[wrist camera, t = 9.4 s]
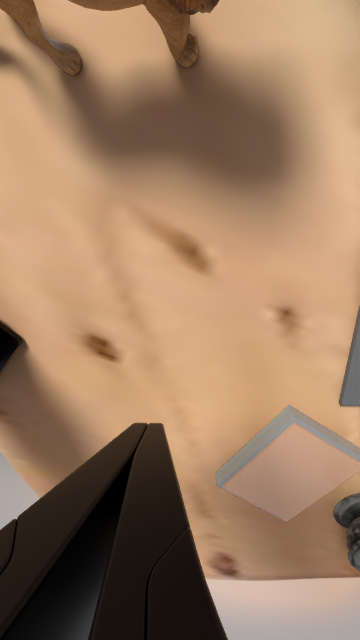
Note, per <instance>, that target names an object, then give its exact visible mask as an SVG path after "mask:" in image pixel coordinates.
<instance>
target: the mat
mask: <svg viewBox="0 0 360 640" xmlns="http://www.w3.org/2000/svg"><path fill="white" fill-rule="evenodd" d="M339 403H340V404H341V406H360V307H359V312H358V316H357V321H356V326H355V330H354V335H353V340H352V344H351V349H350V353H349V358H348V363H347V367H346V372H345V377H344V381H343V386H342V391H341V395H340V400H339Z"/></svg>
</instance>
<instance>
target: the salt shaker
mask: <svg viewBox="0 0 360 640" xmlns="http://www.w3.org/2000/svg"><path fill="white" fill-rule="evenodd" d="M334 517H335V519H336V521H337V522H338V523H339V524H340V525H342V526H344V527H346V528H348V531H347V547H348V549H349V552H348V559H349V561H350V563H351V565H352V566H354V567H355V568H356V569H357V570H359V571H360V493H359V494H355V495H351V496H349V497H346V498H344V499H343V500H341V501H340V502H339V503H338V504H337V505H336V506H335V509H334Z"/></svg>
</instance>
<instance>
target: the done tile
mask: <svg viewBox="0 0 360 640" xmlns="http://www.w3.org/2000/svg"><path fill="white" fill-rule="evenodd" d="M359 471H360V448H359V447H358V446H356V445H354V444H353V443H351V442H349V441H348V440H346V439H345V438H343V437H341V436H340V435H338V434H336V433H335V432H333V431H331V430H330V429H328V428H327V427H325V426H323V425H322V424H320V423H318V422H317V421H315V420H313V419H312V418H310V417H309V416H307V415H305V414H304V413H302V412H300V411H299V410H297V409H295V408H294V407H292V406H291V405H288V406H287V407H286V408H285V409H284V410H283V411H282V412H281V413H280V414H278V415H277V416H276V417H275V418H274V419H273V420H272V421H271V422H270V423H269V424H268V425H267V426H266V427H264V428H263V429H262V430H261V431H260V432H259V433H258V434H257V435H256V436H255V437H254V438H253V439H252V440H251V441H249V442H248V443H247V444H246V445H245V446H244V447H243V448H242V449H241V450H240V451H239V452H238V453H237V454H235V455H234V456H233V457H232V458H231V459H230V460H229V461H228V462H227V463H226V464H225V465H224V466H223V467H221V468H220V469H219V470H218V471H217V472H216V484H217V486H218V487H220V488H222V489H224V490H226V491H228V492H230V493H231V494H233V495H235V496H237V497H239V498H241V499H243V500H245V501H247V502H249V503H250V504H252V505H254V506H256V507H258V508H260V509H262V510H264V511H266V512H268V513H269V514H271V515H273V516H275V517H277V518H279V519H281V520H283V521H285V522H287V521H289V520H290V519H291V518H293V517H294V516H296V515H297V514H299V513H300V512H301V511H303V510H304V509H306V508H307V507H309V506H310V505H312V504H313V503H314V502H316V501H317V500H319V499H320V498H322V497H323V496H325V495H326V494H327V493H329V492H330V491H332V490H333V489H335V488H336V487H337V486H339V485H340V484H342V483H343V482H345V481H346V480H348V479H349V478H350V477H352V476H353V475H355V474H356V473H358V472H359Z"/></svg>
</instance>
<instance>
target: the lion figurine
mask: <svg viewBox="0 0 360 640" xmlns="http://www.w3.org/2000/svg"><path fill="white" fill-rule="evenodd" d="M69 1H71V2H73V3H75V4H78V5H80V6H83V7H85V8H89V9H95V10H101V11H114V10H120V9H125V8H130V7H134V6H137V5H141V4H143V5H145V7H146V8H147V10H148V11H149V13H150V14H151V15H152V16H153V17H154V18H155V20H156V21H157V22H158V24H159V25H160V27H161V29H162V31H163V34H164V36H165V38H166V40H167V44H168V46H169V49H170V51H171V53H172V55H173V57H174V58H175V59H176V60H177V62H178V63H179V64H180V65H181V66H183V67H190V66H191V65H192V64H193V63H194V62H195V61H196V58H197V56H198V52H199V49H198V40H197V38H196V37H195V36H192V35H189V34H188V31H189V24H190V15H193V14H195V13H197V12H199V11H200V12H201V13H204V12H208V13H210V12H211V11H212V10H213V8H214V7H215V6H216V5H217V3H218V1H219V0H69ZM0 8H1V9H2V10H3V11H5V12H6V13H7V14H8V15H10V16H12V17H13V18H14V19H15V20H16V21H17V22H18V23H19V24H20V25H21V26H22V28H23V30H24V32H25V34H26V35H27V36H28V38H29V39H30V40H31V41H32V42H33V43H34V44H35V45H37V46H38V47H39V48H41V49H42V50H43V51H44V52H45V53H47V54H48V55H49V56H50V57H51V58H52V60H53V61H54V62H55V63H56V64H57V65H58V66H59V67H60V68H61V69H62V70H63V71H65V72H66V73H67V74H70V75H76V74H77V73H78V72H79V71H80V68H81V62H80V54H79V52H78V50H77V49H76V48H75V47H74V46H72V45H71V44H68V43H62V42H59V41H57V40H55V39H54V38H52V37H51V36H50V35H49V34H48V33H47V32H46V31H45V30H44V29H43V28H42V26H41V24H40V20H39V16H38V13H37V10H36V7H35V4H34V1H33V0H0Z"/></svg>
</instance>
